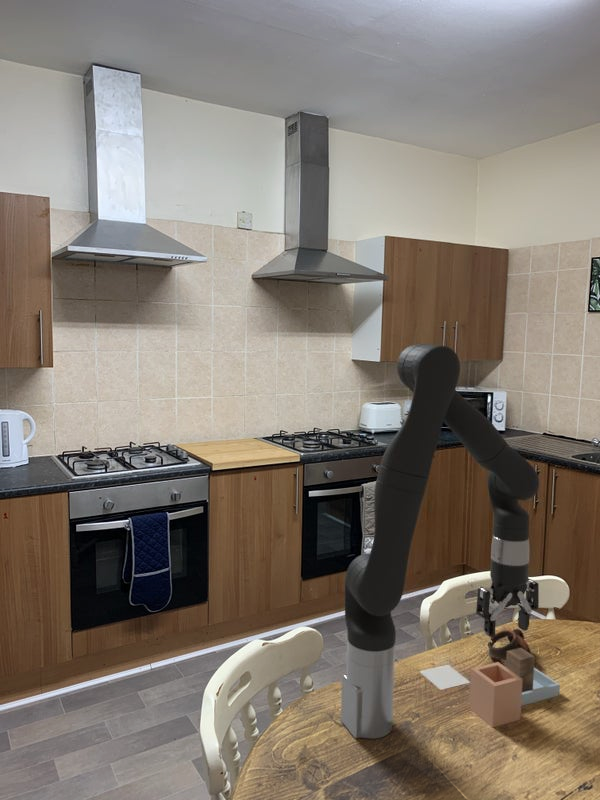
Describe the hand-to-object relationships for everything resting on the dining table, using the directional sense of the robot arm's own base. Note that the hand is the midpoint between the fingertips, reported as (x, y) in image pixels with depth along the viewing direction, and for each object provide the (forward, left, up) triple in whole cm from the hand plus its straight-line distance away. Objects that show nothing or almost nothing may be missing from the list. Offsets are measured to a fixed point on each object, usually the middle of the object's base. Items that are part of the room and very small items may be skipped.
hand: (506, 632), depth 129 cm
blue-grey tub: (+5, +1, -14) cm, 15 cm away
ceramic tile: (-7, +11, -14) cm, 19 cm away
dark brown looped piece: (+13, +11, -15) cm, 23 cm away
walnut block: (+5, +1, -14) cm, 15 cm away
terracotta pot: (-6, -4, -14) cm, 16 cm away
